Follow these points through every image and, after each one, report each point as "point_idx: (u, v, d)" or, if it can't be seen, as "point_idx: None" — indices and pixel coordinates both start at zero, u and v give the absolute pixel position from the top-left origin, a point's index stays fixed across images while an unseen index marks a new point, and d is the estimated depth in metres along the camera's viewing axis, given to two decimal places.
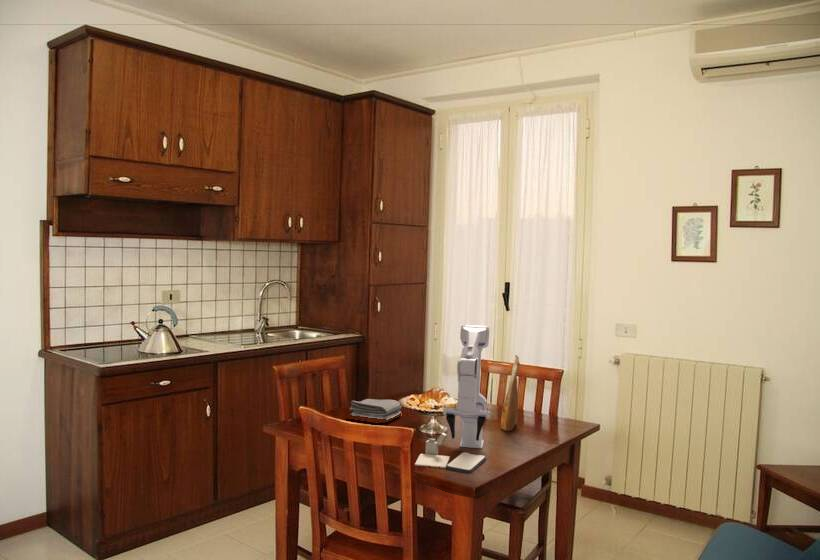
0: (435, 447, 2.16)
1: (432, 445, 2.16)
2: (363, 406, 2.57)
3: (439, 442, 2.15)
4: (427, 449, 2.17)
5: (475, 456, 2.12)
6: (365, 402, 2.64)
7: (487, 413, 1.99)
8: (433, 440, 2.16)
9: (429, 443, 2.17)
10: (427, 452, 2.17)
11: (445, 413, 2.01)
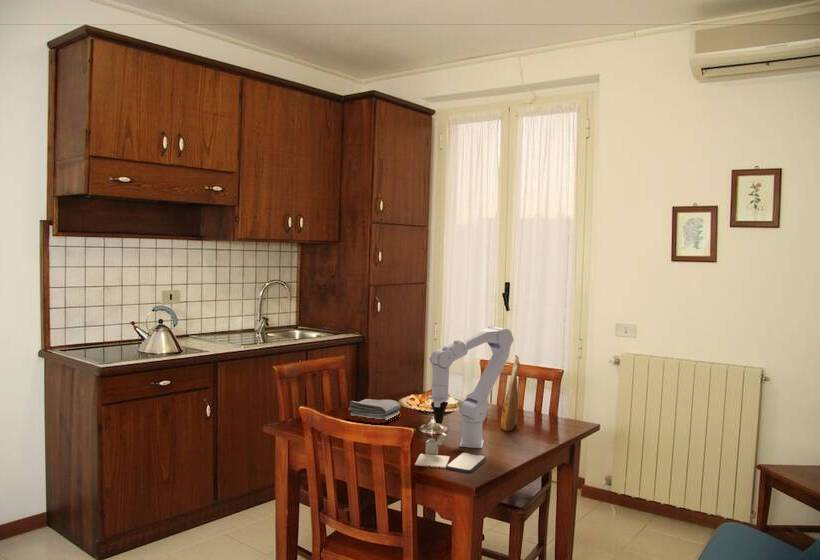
0: (435, 447, 2.16)
1: (432, 445, 2.16)
2: (362, 406, 2.56)
3: (439, 442, 2.15)
4: (427, 449, 2.17)
5: (475, 457, 2.12)
6: (364, 402, 2.64)
7: (434, 401, 2.15)
8: (433, 440, 2.16)
9: (429, 443, 2.17)
10: (427, 452, 2.17)
11: None
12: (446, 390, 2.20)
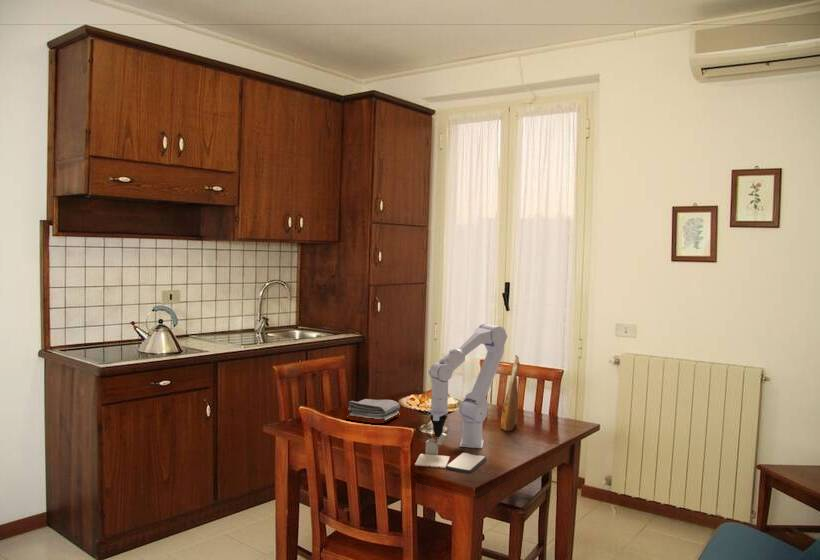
0: (435, 447, 2.16)
1: (432, 445, 2.16)
2: (361, 406, 2.56)
3: (439, 442, 2.15)
4: (427, 449, 2.17)
5: (475, 457, 2.12)
6: (363, 402, 2.64)
7: (433, 415, 2.15)
8: (433, 440, 2.16)
9: (429, 443, 2.17)
10: (427, 452, 2.17)
11: None
12: (445, 403, 2.19)
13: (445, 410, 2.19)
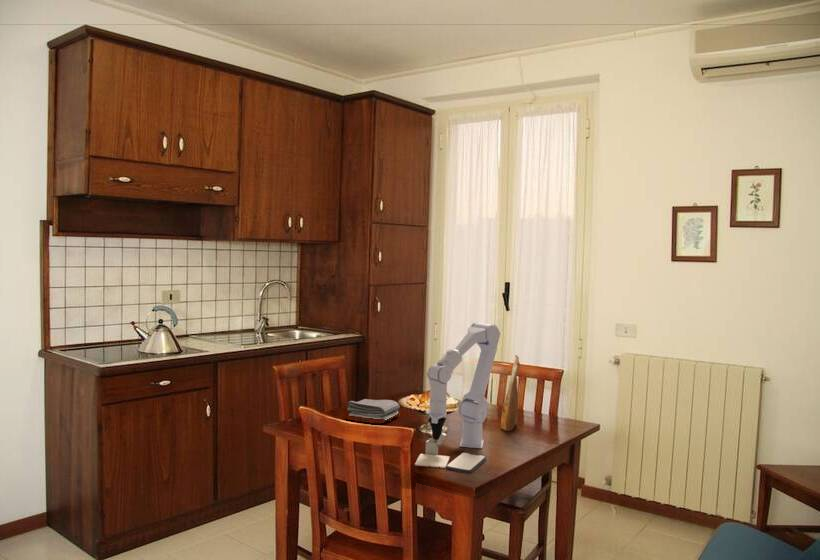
0: (435, 447, 2.16)
1: (432, 445, 2.16)
2: (361, 406, 2.56)
3: (439, 442, 2.15)
4: (427, 449, 2.17)
5: (475, 457, 2.12)
6: (363, 402, 2.64)
7: (431, 418, 2.11)
8: (433, 440, 2.16)
9: (429, 443, 2.17)
10: (427, 452, 2.17)
11: None
12: (444, 406, 2.16)
13: (444, 412, 2.16)
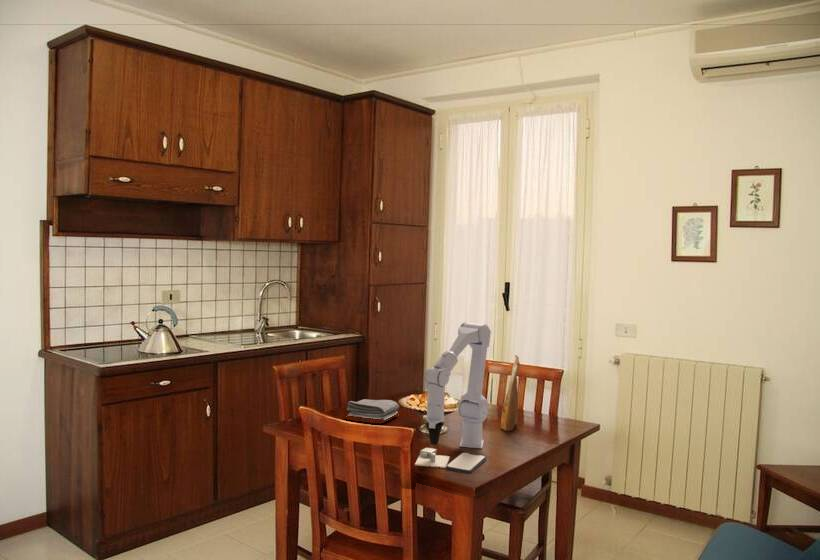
0: None
1: None
2: (360, 406, 2.56)
3: None
4: None
5: (475, 457, 2.12)
6: (362, 402, 2.63)
7: (429, 422, 2.05)
8: None
9: None
10: None
11: None
12: (442, 410, 2.10)
13: (441, 417, 2.10)
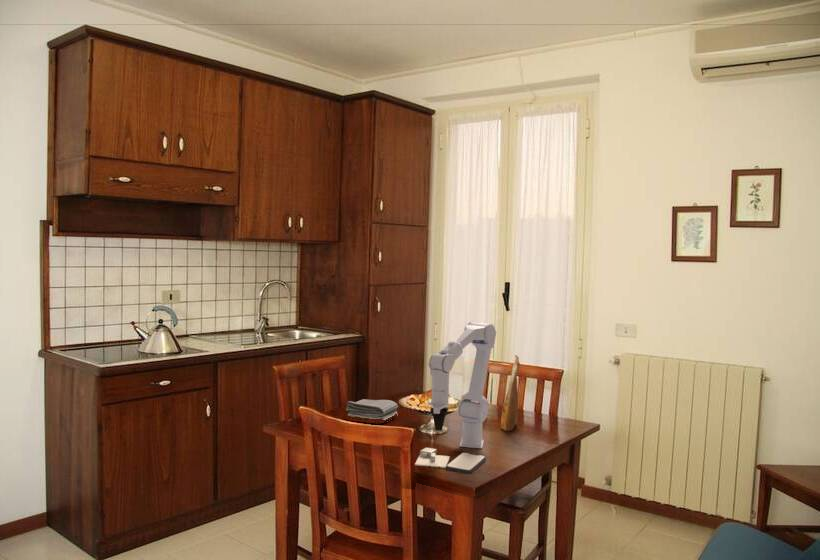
0: None
1: None
2: (359, 407, 2.56)
3: None
4: None
5: (475, 457, 2.12)
6: (361, 402, 2.63)
7: (433, 408, 2.06)
8: None
9: None
10: None
11: None
12: (446, 396, 2.10)
13: (446, 403, 2.11)
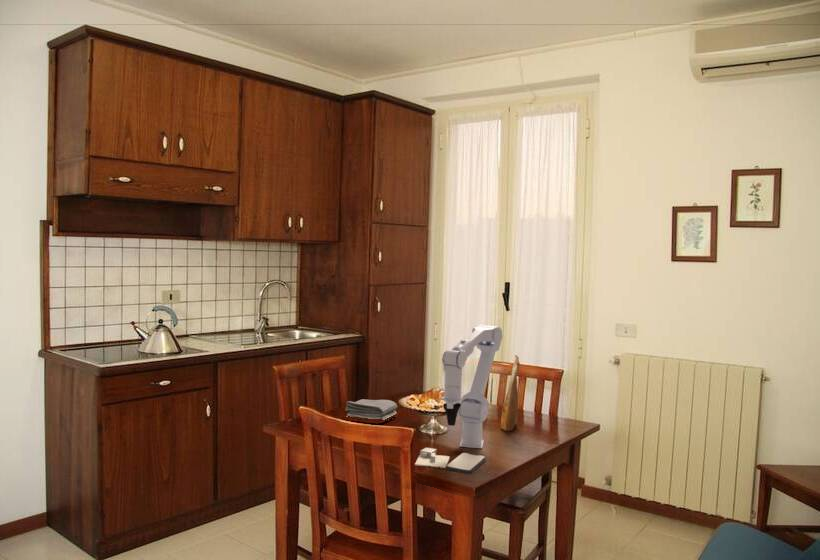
0: None
1: None
2: (359, 406, 2.55)
3: None
4: None
5: (475, 457, 2.12)
6: (360, 402, 2.63)
7: (447, 403, 2.09)
8: None
9: None
10: None
11: None
12: (459, 391, 2.14)
13: (459, 398, 2.14)
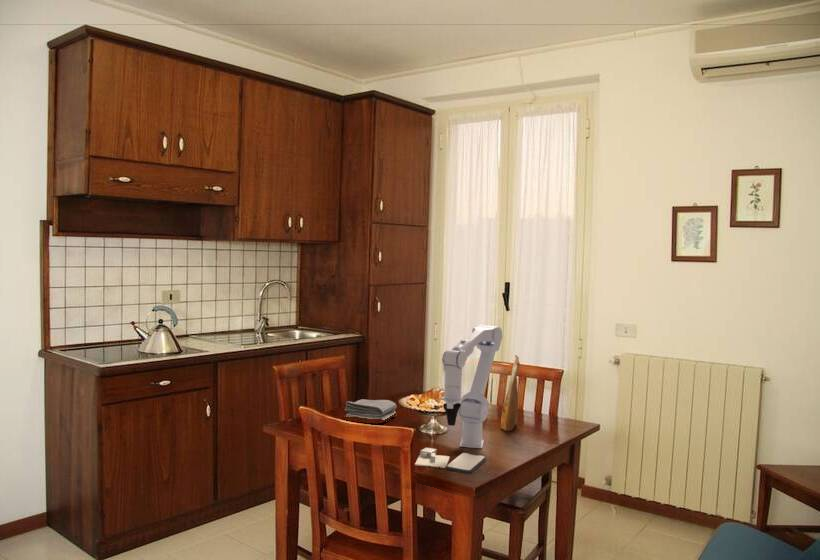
0: None
1: None
2: (358, 407, 2.55)
3: None
4: None
5: (475, 457, 2.12)
6: (360, 403, 2.63)
7: (447, 403, 2.09)
8: None
9: None
10: None
11: None
12: (459, 391, 2.14)
13: (459, 398, 2.14)
